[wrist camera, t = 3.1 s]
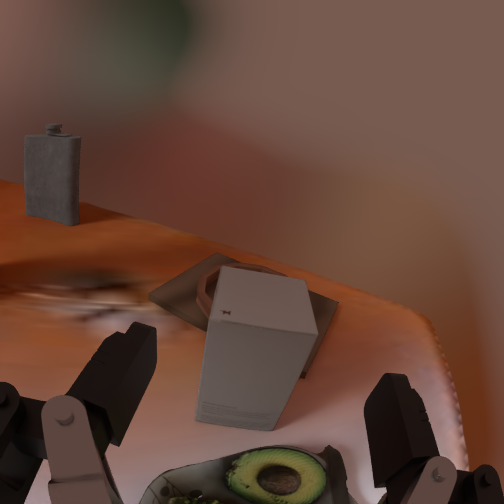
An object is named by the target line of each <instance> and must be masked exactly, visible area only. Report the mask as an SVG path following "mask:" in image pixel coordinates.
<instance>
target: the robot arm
mask: <svg viewBox="0 0 504 504" xmlns="http://www.w3.org/2000/svg"><path fill="white" fill-rule="evenodd" d="M156 363H157V332H156V328H155V327H152V326H148V325H145V324H142V323H139V322H133V323H132V324H131V326H130V327H129V329H128V330H127V332H126V333H125V334H124V333H121V332H118V331H117V332H115V333H114V334H112V335H111V336H109V337H107V338H106V339H105V340H104V341H103V342H102V344H101V345H100V347H99V348H98V349H97V352H95V354H94V355H93V356H92V358H91V360H90V361H89V362H88V363H87V365H86V366H85V368H84V369H83V370H82V372H81V373H80V375H79V376H78V378H77V379H76V381H75V382H74V384H73V385H72V386H71V388H70V389H69V391H68V392H67V393H66V394H65V395H60V396H56V397H53V398H51V399H50V400H48V401H40V400H35V399H31V398H26V397H22V396H20V395H19V393H18V391H17V390H16V388H15V387H14V386H13V385H11V384H9V383H7V382H0V504H24V502H25V500H26V497H27V495H28V493H29V490H30V488H31V486H32V483H33V481H34V479H35V477H36V474H37V472H38V470H39V468H40V466H41V463H42V461H43V459H47V460H48V463H49V467H50V472H51V480H50V481H49V482H48V491H49V496H50V499H51V503H52V504H124V503H123V501H122V499H121V497H120V494H119V492H118V489H117V486H116V484H115V481H114V478H113V476H112V473H111V470H110V467H109V464H108V461H107V458H106V455H105V452H106V450H107V447H108V445H109V443H111V444H113V445H115V446H118V447H119V446H120V444H121V442H122V440H123V438H124V435H125V433H126V431H127V429H128V427H129V425H130V422H131V420H132V418H133V416H134V414H135V412H136V410H137V407H138V405H139V403H140V401H141V399H142V397H143V395H144V393H145V391H146V389H147V386H148V384H149V382H150V380H151V378H152V376H153V374H154V371H155V368H156ZM364 418H365V424H366V430H367V436H368V443H369V449H370V456H371V464H372V471H373V479H374V488H383V487H386V490H387V492H386V493H385V494H384V495H383V496H382V498H381V499H380V501H379V502H378V504H504V496H503V492H502V488H501V484H500V480H499V476H498V474H497V472H496V470H495V469H494V468H493V467H492V466H490V465H481V466H479V467H478V468H477V469H476V470H474V471H473V472H468V471H462V470H456V468H455V466H454V464H453V463H452V462H451V461H450V460H449V459H447V458H445V457H442V456H440V454H439V451H438V447H437V444H436V441H435V437H434V434H433V431H432V427H431V424H430V422H429V418H428V415H427V413H426V409H425V406H424V403H423V400H422V398H421V397H420V396H419V394H418V393H417V392H416V390H415V389H411V386H410V383H409V381H408V378H407V376H406V375H405V374H394V373H385V374H384V375H383V376H382V378H381V379H380V381H379V382H378V384H377V385H376V387H375V388H374V389H373V391H372V392H371V394H370V395H369V397H368V398H367V400H366V402H365V406H364Z"/></svg>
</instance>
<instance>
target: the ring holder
mask: <svg viewBox="0 0 504 504" xmlns="http://www.w3.org/2000/svg"><path fill="white" fill-rule="evenodd" d="M222 266H227V267H232V268H238V269H244V270H250V271H256V272H262V273H268V274H273V275H279V276H285V277H288V276H286V275H284V274H282V273H279V272H277V271H274V270H272V269H269V268H267V267H264V266H260V265H252V264H245V263H241V262H239V261H236V260H234V259H232V258H229V257H227V256H224V255H222V254H220V253H215V254H214V255H212V256H210V257H208V258H207V259H205V260H203V261H202V262H200V263H198V264H197V265H195V266H193V267H192V268H190V269H188V270H187V271H185V272H183V273H182V274H180V275H178V276H177V277H175V278H173V279H172V280H170V281H169V282H167V283H165V284H164V285H162V286H160V287H159V288H157V289H155V290H154V291H152V292H150V293H149V300H151V301H152V302H154V303H156V304H157V305H159V306H161V307H163V308H164V309H166V310H168V311H169V312H171V313H173V314H175V315H177V316H178V317H180V318H182V319H184V320H185V321H187V322H189V323H191V324H193V325H195V326H196V327H198V328H200V329H202V330H204V331H206V332H207V328H208V321H209V317H210V313H211V308H212V304H213V300H214V295H215V290H216V287H217V283H218V278H219V274H220V270H221V267H222ZM308 293H309V297H310V301H311V305H312V309H313V314H314V318H315V322H316V326H317V330H318V336H317V338H316V341H315V343H314V345H313V348H312V350H311V352H310V354H309V357H308V359H307V361H306V363H305V365H304V368H303V370H302V372H301V374H300V376H299V377H301V378H305V376H306V374H307V372H308V370H309V368H310V366H311V364H312V361H313V359H314V357H315V355H316V353H317V351H318V349H319V346H320V344H321V342H322V340H323V338H324V335H325V333H326V331H327V329H328V326H329V324H330V322H331V319H332V317H333V315H334V312H335V310H336V308H337V305H338V303H339V302H337V301H334V300H332V299H329V298H327V297H324V296H322V295H319V294H317V293H314V292H312V291H309V290H308Z"/></svg>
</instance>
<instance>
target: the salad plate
mask: <svg viewBox="0 0 504 504" xmlns="http://www.w3.org/2000/svg"><path fill="white" fill-rule="evenodd" d="M346 480H347V474H346V469H345V466H344V463H343V459H342V457H341V454H340V452H339V451H338V450H336V449H334V448H333V447H331V446H330V445H328V446H327V447H325V450H324V451H323V452H321V453H319V454H315V453H312V452H309V451H306V450H304V449H301V448H297V447H292V446H283V445H275V446H265V447H260V448H254V449H251V450H247V451H243V452H240V453H237V454H233V455H230V456H226V457H222V458H219V459H216V460H210V461H206V462H203V463H198V464H193V465H187V466H184V467H180V468H176V469H171V470H168V471H165V472H164V473H162V474H161V475H159V476H158V477H157V478H156V479H155V480H154V481H152V483H151V484H150V485H149V486H148V488H147V489H146V491H145V493H144V495H143V497H142V499H141V501H140V503H139V504H358V503H357V502H356V501H355V500H354V498H353V497H352V496H351V495H350V494H349V493H348V488H347V486H346ZM201 495H202V497H201V498H198V497H199V496H201Z"/></svg>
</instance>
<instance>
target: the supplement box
mask: <svg viewBox="0 0 504 504" xmlns="http://www.w3.org/2000/svg"><path fill="white" fill-rule="evenodd" d="M317 336H318V330H317V326H316V322H315V318H314V314H313V309H312V305H311V301H310V297H309V293H308V289H307V285H306V281H305V280H301V279H296V278H290V277H285V276H279V275H273V274H268V273H262V272H256V271H250V270H244V269H238V268H232V267H227V266H222V267H221V270H220V274H219V278H218V283H217V287H216V290H215V295H214V300H213V304H212V308H211V313H210V317H209V321H208V328H207V335H206V341H205V348H204V356H203V363H202V370H201V377H200V385H199V392H198V399H197V407H196V415H195V420H196V421H200V422H205V423H211V424H217V425H223V426H229V427H236V428H244V429H252V430H262V431H272V430H273V429H274V427H275V425H276V423H277V422H278V420H279V418H280V416H281V414H282V412H283V410H284V408H285V406H286V404H287V402H288V400H289V398H290V396H291V393H292V391H293V389H294V387H295V385H296V383H297V381H298V379H299V376H300V374H301V372H302V370H303V368H304V365H305V363H306V361H307V359H308V357H309V354H310V352H311V350H312V348H313V345H314V343H315V341H316V338H317Z"/></svg>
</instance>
